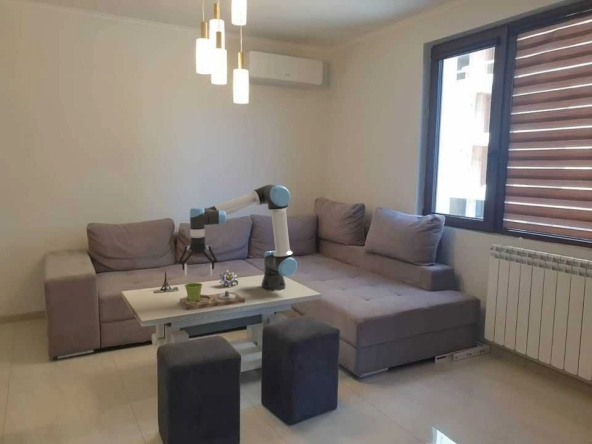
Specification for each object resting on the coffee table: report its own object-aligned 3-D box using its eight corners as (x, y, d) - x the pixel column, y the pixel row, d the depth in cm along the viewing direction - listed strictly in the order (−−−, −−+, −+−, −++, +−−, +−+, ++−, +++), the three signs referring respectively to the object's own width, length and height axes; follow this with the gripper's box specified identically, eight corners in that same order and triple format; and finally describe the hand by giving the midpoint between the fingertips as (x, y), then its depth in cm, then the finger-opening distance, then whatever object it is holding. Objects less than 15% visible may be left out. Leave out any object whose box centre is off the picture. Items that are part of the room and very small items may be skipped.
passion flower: (229, 295, 288) (220, 282, 281) (222, 288, 296) (213, 275, 290) (243, 284, 291) (234, 271, 284) (236, 277, 299) (228, 264, 293)
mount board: (234, 295, 269) (234, 286, 268) (244, 302, 255) (244, 293, 254) (179, 302, 253) (179, 293, 253) (187, 310, 240) (187, 300, 239)
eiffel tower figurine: (153, 294, 270) (153, 271, 269) (151, 289, 280) (151, 268, 278) (179, 291, 276) (179, 270, 274) (177, 287, 285) (176, 266, 284)
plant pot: (198, 303, 244) (198, 287, 243) (182, 302, 246) (181, 286, 245) (205, 298, 253) (205, 283, 252) (189, 297, 255) (189, 282, 254)
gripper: (221, 235, 251) (222, 273, 254) (174, 235, 248) (175, 274, 251) (220, 237, 244) (221, 276, 246) (172, 238, 241) (174, 277, 243)
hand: (198, 275), depth 249 cm, fingers open, 13 cm apart
